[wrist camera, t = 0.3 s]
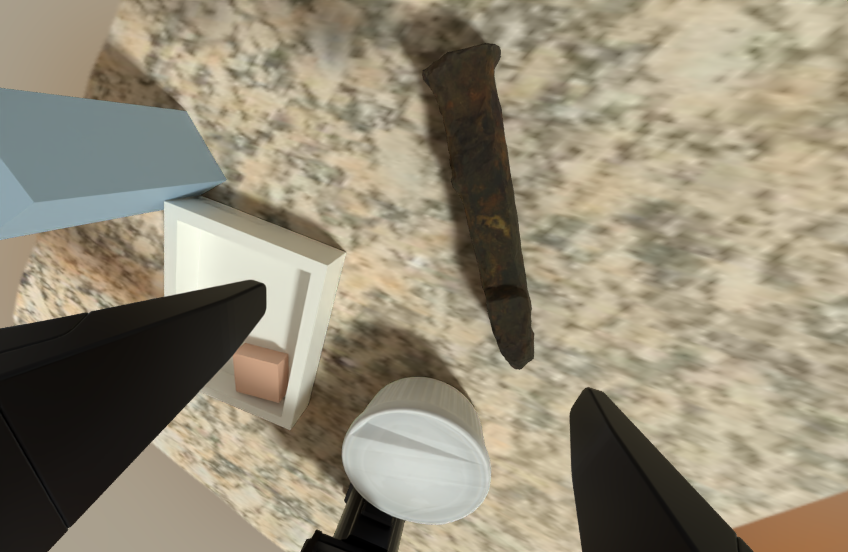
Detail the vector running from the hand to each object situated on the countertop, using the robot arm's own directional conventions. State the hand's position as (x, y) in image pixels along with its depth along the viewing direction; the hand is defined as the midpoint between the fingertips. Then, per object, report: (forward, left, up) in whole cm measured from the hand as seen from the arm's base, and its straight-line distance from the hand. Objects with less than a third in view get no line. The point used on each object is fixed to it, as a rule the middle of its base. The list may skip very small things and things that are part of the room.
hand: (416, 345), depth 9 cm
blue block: (-3, +21, -14) cm, 25 cm away
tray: (-13, +13, -14) cm, 23 cm away
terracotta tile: (-17, +11, -13) cm, 24 cm away
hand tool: (+1, -2, -15) cm, 15 cm away
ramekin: (-17, -3, -15) cm, 22 cm away
